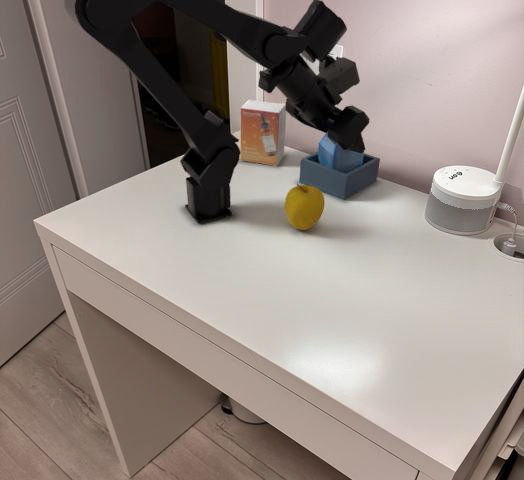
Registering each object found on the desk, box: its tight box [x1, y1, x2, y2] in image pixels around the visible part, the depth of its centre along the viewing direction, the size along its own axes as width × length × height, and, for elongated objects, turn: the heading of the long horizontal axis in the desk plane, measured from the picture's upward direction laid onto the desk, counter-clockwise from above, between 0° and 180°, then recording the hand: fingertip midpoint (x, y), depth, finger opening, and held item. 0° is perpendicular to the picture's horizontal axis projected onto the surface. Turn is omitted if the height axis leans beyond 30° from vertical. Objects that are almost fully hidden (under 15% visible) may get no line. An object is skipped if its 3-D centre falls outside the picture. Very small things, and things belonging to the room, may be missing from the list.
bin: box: [298, 150, 381, 201], centre depth 101 cm, size 11×11×5 cm
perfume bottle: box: [317, 131, 365, 174], centre depth 98 cm, size 6×6×12 cm
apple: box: [284, 183, 326, 231], centre depth 87 cm, size 6×6×8 cm
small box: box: [239, 99, 287, 167], centre depth 107 cm, size 8×6×10 cm
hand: (348, 142), depth 98 cm, fingers open, 9 cm apart
